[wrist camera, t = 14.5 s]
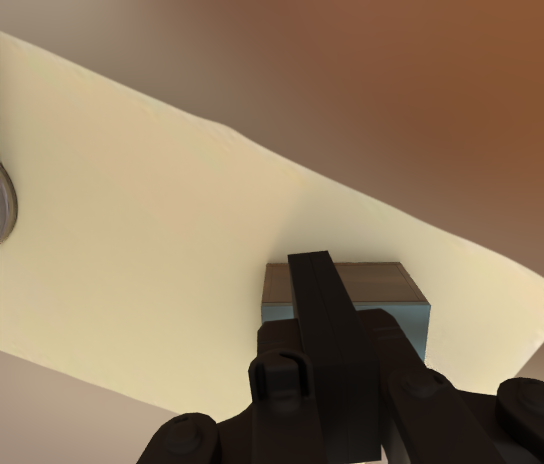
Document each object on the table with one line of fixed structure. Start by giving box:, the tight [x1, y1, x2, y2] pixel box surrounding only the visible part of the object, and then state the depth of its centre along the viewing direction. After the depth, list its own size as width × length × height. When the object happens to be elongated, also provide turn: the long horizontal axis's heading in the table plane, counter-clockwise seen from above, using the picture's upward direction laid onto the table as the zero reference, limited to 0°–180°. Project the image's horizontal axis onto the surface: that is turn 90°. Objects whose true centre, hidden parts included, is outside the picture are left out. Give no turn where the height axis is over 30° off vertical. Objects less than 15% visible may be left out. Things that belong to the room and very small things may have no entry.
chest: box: [262, 262, 428, 303], centre depth 45 cm, size 14×17×10 cm
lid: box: [261, 302, 431, 362], centre depth 40 cm, size 14×17×1 cm
